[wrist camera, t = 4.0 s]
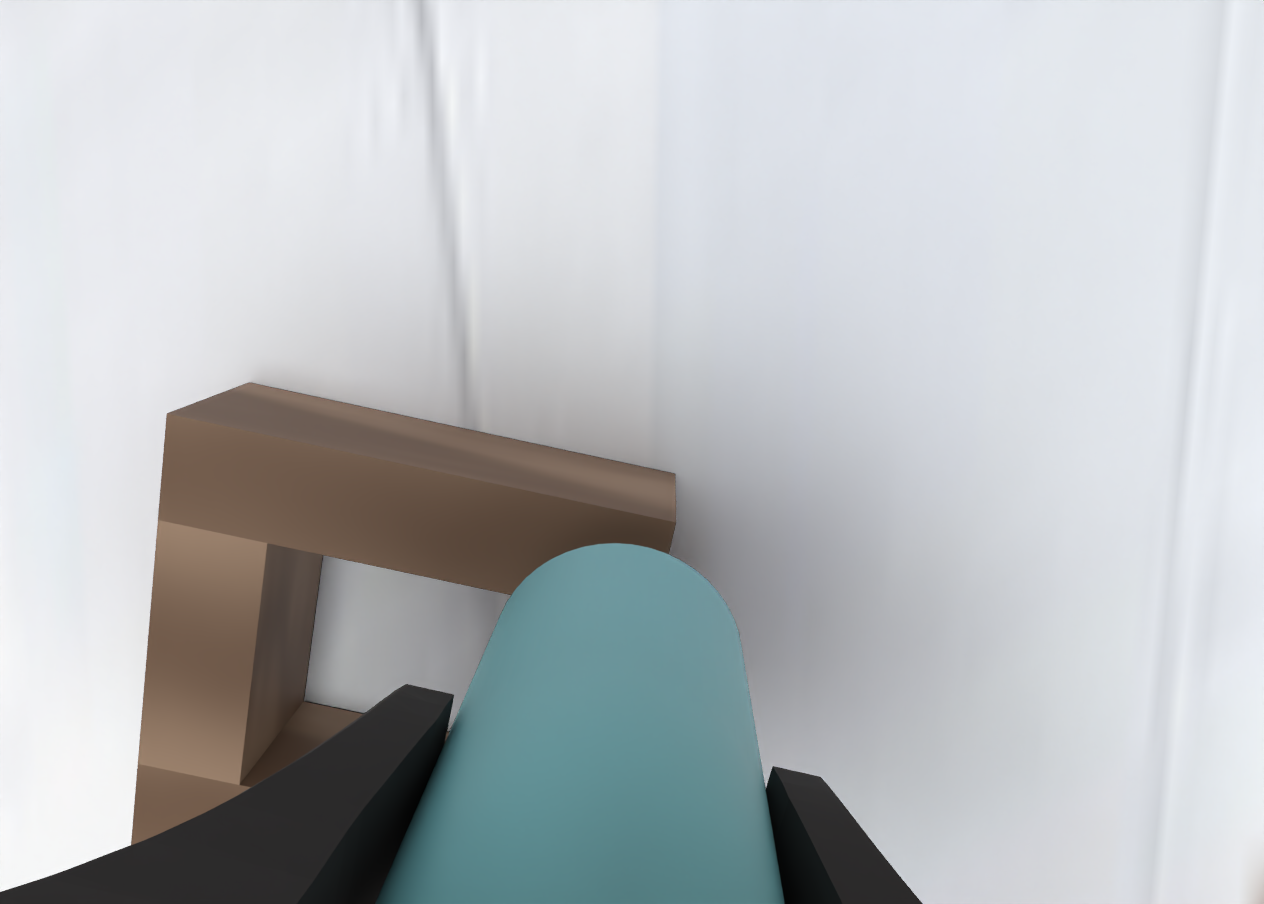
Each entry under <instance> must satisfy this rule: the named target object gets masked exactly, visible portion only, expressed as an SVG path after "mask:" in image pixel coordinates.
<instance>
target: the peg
mask: <svg viewBox="0 0 1264 904" xmlns="http://www.w3.org/2000/svg"><path fill="white" fill-rule="evenodd" d="M375 904H785V901H784V896H783V890H782V884H781V878H780V872H779V866H778V860H777V854H776V848H775V842H774V836H773V830H772V824H771V818H770V813H769V807H768V801H767V795H766V789H765V783H764V777H763V771H762V765H761V759H760V753H759V747H758V741H757V735H756V730H755V724H754V718H753V712H752V706H751V700H750V694H749V688H748V682H747V676H746V670H745V664H744V658H743V652H742V647H741V641H740V636H739V632H738V629H737V626H736V623H735V620H734V618H733V616H732V614H731V612H730V610H729V608H728V606H727V604H726V603H725V601H724V600H723V598H722V597H721V595H720V594H719V593H718V591H717V590H716V589H715V588H714V587H713V586H712V585H711V584H710V583H709V581H708V580H707V579H705V578H704V577H703V576H702V575H701V574H700V573H698V572H697V571H696V570H695V569H693V568H692V567H690V566H689V565H687V564H686V563H684V562H682V561H681V560H679V559H677V558H675V557H673V556H671V555H668V554H666V553H664V552H661V551H658V550H655V549H652V548H648V547H643V546H638V545H633V544H620V543H610V544H597V545H591V546H585V547H581V548H578V549H575V550H571V551H568V552H566V553H563V554H561V555H559V556H557V557H555V558H553V559H551V560H549V561H548V562H546V563H544V564H543V565H541V566H540V567H538V568H537V569H536V570H535V571H533V572H532V573H531V574H530V575H529V576H527V577H526V578H525V579H524V580H523V582H522V583H521V584H520V585H519V586H518V587H517V588H516V589H515V591H514V592H513V594H512V595H511V597H510V598H509V600H508V601H507V603H506V605H505V607H504V609H503V611H502V613H501V615H500V617H499V619H498V622H497V624H496V626H495V629H494V631H493V633H492V636H491V638H490V640H489V642H488V645H487V647H486V649H485V652H484V654H483V656H482V659H481V661H480V663H479V666H478V668H477V670H476V672H475V675H474V677H473V679H472V682H471V684H470V686H469V689H468V691H467V693H466V695H465V698H464V700H463V702H462V705H461V707H460V709H459V712H458V714H457V716H456V718H455V721H454V723H453V725H452V728H451V730H450V732H449V735H448V737H447V739H446V741H445V744H444V746H443V748H442V751H441V753H440V755H439V758H438V760H437V762H436V764H435V767H434V769H433V771H432V774H431V776H430V778H429V781H428V783H427V785H426V788H425V790H424V792H423V794H422V797H421V799H420V801H419V804H418V806H417V808H416V811H415V813H414V815H413V817H412V820H411V822H410V824H409V827H408V829H407V831H406V834H405V836H404V838H403V840H402V843H401V845H400V847H399V850H398V852H397V854H396V857H395V859H394V861H393V863H392V866H391V868H390V870H389V873H388V875H387V877H386V880H385V882H384V884H383V886H382V889H381V891H380V893H379V896H378V898H377V900H376V903H375Z"/></svg>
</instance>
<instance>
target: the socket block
mask: <svg viewBox="0 0 1264 904" xmlns="http://www.w3.org/2000/svg"><path fill="white" fill-rule="evenodd" d="M675 525H676V493H675V474H673V473H669V472H664V471H659V470H655V469H650V468H645V467H641V466H636V465H631V464H627V463H622V462H617V461H613V460H608V459H603V458H599V457H594V456H589V455H585V454H580V453H575V452H571V451H566V450H561V449H557V448H552V447H547V446H543V445H538V444H533V443H529V442H524V441H519V440H515V439H510V438H505V437H501V436H496V435H491V434H487V433H482V432H477V431H473V430H468V429H463V428H459V427H454V426H449V425H445V424H440V423H435V422H431V421H426V420H421V419H417V418H412V417H407V416H403V415H398V414H393V413H389V412H384V411H379V410H375V409H370V408H365V407H361V406H356V405H351V404H347V403H342V402H337V401H333V400H328V399H323V398H319V397H314V396H309V395H305V394H300V393H295V392H291V391H286V390H281V389H277V388H272V387H267V386H263V385H258V384H253V383H246V384H244V385H241V386H238V387H236V388H233V389H230V390H228V391H225V392H223V393H220V394H217V395H215V396H212V397H209V398H207V399H204V400H201V401H199V402H196V403H194V404H191V405H188V406H186V407H183V408H180V409H178V410H175V411H172V412H170V413H167V418H166V430H165V442H164V454H163V466H162V478H161V490H160V503H159V515H158V527H157V539H156V551H155V563H154V575H153V587H152V599H151V611H150V624H149V636H148V648H147V660H146V672H145V684H144V696H143V708H142V720H141V733H140V745H139V757H138V769H137V781H136V793H135V805H134V817H133V829H132V841H131V845H133V844H136V843H138V842H141V841H144V840H146V839H148V838H151V837H153V836H155V835H157V834H160V833H162V832H164V831H166V830H169V829H171V828H173V827H175V826H177V825H179V824H181V823H183V822H186V821H188V820H190V819H192V818H194V817H196V816H198V815H201V814H203V813H205V812H207V811H209V810H211V809H213V808H215V807H217V806H218V805H220V804H222V803H224V802H226V801H228V800H230V799H232V798H233V797H235V796H237V795H239V794H240V793H242V792H244V791H245V790H247V789H249V788H251V787H252V786H254V785H256V784H257V783H259V782H261V781H262V780H264V779H266V778H268V777H269V776H271V775H273V774H274V773H276V772H278V771H279V770H281V769H283V768H285V767H286V766H288V765H289V764H291V763H293V762H294V761H296V760H297V759H299V758H300V757H302V756H303V755H305V754H306V753H308V752H309V751H311V750H312V749H314V748H315V747H317V746H318V745H320V744H321V743H323V742H324V741H326V740H327V739H329V738H330V737H332V736H333V735H335V734H336V733H338V732H339V731H341V730H342V729H343V728H345V727H346V726H348V725H349V724H350V723H352V722H353V721H355V720H356V719H357V718H359V717H360V716H362V715H363V714H361V713H357V712H352V711H347V710H342V709H338V708H333V707H328V706H323V705H319V704H314V703H309V702H304V694H305V686H306V679H307V671H308V664H309V656H310V649H311V641H312V633H313V626H314V618H315V611H316V603H317V596H318V588H319V581H320V573H321V565H322V558H323V555H325V556H330V557H335V558H339V559H344V560H349V561H354V562H358V563H363V564H368V565H372V566H377V567H382V568H387V569H391V570H396V571H401V572H405V573H410V574H415V575H420V576H424V577H429V578H434V579H438V580H443V581H448V582H453V583H457V584H462V585H467V586H471V587H476V588H481V589H486V590H490V591H495V592H500V593H504V594H509V595H512V594H513V592H514V591H515V589H516V588H517V587H518V586H519V585H520V584H521V583H522V582H523V580H524V579H525V578H526V577H527V576H529V575H530V574H531V573H532V572H533V571H535V570H536V569H537V568H538V567H540V566H541V565H543V564H544V563H546V562H548V561H549V560H551V559H553V558H555V557H557V556H559V555H561V554H563V553H566V552H568V551H571V550H575V549H578V548H581V547H585V546H591V545H597V544H610V543H620V544H633V545H638V546H643V547H648V548H652V549H655V550H658V551H661V552H664V553H666V554H668V555H669V550H670V546H671V542H672V537H673V533H674V529H675ZM448 735H449V732H447V734H446V739H447V737H448ZM446 739H445V741H446Z"/></svg>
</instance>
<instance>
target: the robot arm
mask: <svg viewBox="0 0 1264 904" xmlns="http://www.w3.org/2000/svg"><path fill="white" fill-rule="evenodd" d="M453 698H454V695H453V694H448V693H444V692H439V691H435V690H430V689H426V688H421V687H417V686H412V685H408V684H406V685H404V686H402V687H401V688H399V689H397V690H395V691H394V692H393V693H391V694H390V695H389V696H387V697H386V698H385V699H383V700H382V701H381V702H379V703H378V704H376V705H375V706H374V707H372V708H371V709H370V710H368V711H367V712H366V713H364V714H363V715H362V716H360V717H359V718H357V719H356V720H355V721H353V722H352V723H350V724H349V725H348V726H346V727H345V728H343V729H342V730H341V731H339V732H338V733H336V734H335V735H333V736H332V737H330V738H329V739H327V740H326V741H324V742H323V743H321V744H320V745H318V746H317V747H315V748H314V749H312V750H311V751H309V752H308V753H306V754H305V755H303V756H302V757H300V758H299V759H297V760H296V761H294V762H293V763H291V764H289V765H288V766H286V767H285V768H283V769H281V770H279V771H278V772H276V773H274V774H273V775H271V776H269V777H268V778H266V779H264V780H262V781H261V782H259V783H257V784H256V785H254V786H252V787H251V788H249V789H247V790H245V791H244V792H242V793H240V794H239V795H237V796H235V797H233V798H232V799H230V800H228V801H226V802H224V803H222V804H220V805H218V806H217V807H215V808H213V809H211V810H209V811H207V812H205V813H203V814H201V815H198V816H196V817H194V818H192V819H190V820H188V821H186V822H183V823H181V824H179V825H177V826H175V827H173V828H171V829H169V830H166V831H164V832H162V833H160V834H157V835H155V836H153V837H151V838H148V839H146V840H144V841H141V842H138V843H136V844H133V845H131V846H128V847H125V848H123V849H120V850H118V851H115V852H112V853H110V854H107V855H105V856H102V857H99V858H97V859H94V860H92V861H89V862H86V863H84V864H81V865H78V866H76V867H73V868H71V869H68V870H66V871H63V872H60V873H57V874H55V875H52V876H49V877H46V878H43V879H40V880H37V881H33V882H30V883H27V884H24V885H21V886H18V887H15V888H12V889H9V890H5V891H2V892H0V904H375V903H376V900H377V898H378V896H379V893H380V891H381V889H382V886H383V884H384V882H385V880H386V877H387V875H388V873H389V870H390V868H391V866H392V863H393V861H394V859H395V857H396V854H397V852H398V850H399V847H400V845H401V843H402V840H403V838H404V836H405V834H406V831H407V829H408V827H409V824H410V822H411V820H412V817H413V815H414V813H415V811H416V808H417V806H418V804H419V801H420V799H421V797H422V794H423V792H424V790H425V788H426V785H427V783H428V781H429V778H430V776H431V774H432V771H433V769H434V767H435V764H436V762H437V760H438V758H439V755H440V753H441V751H442V748H443V746H444V744H445V739H446V734H447V729H448V723H449V718H450V713H451V708H452V703H453ZM766 795H767V801H768V807H769V813H770V818H771V824H772V830H773V836H774V842H775V848H776V854H777V860H778V866H779V872H780V878H781V884H782V890H783V896H784V901H785V904H922V903H921V901H920V900H919V899H918V898H917V897H916V895H915V894H914V893H913V892H912V891H911V889H910V888H909V887H908V886H907V885H906V883H905V882H904V881H903V880H902V879H901V877H900V876H899V875H898V874H897V872H896V871H895V870H894V869H893V867H892V866H891V865H890V864H889V862H888V861H887V860H886V859H885V857H884V856H883V855H882V854H881V852H880V851H879V850H878V849H877V847H876V846H875V845H874V843H873V842H872V841H871V840H870V838H869V837H868V836H867V834H866V833H865V832H864V831H863V829H862V828H861V827H860V825H859V824H858V823H857V822H856V820H855V819H854V818H853V816H852V815H851V814H850V813H849V811H848V810H847V809H846V807H845V806H844V805H843V804H842V802H841V801H840V800H839V799H838V797H837V796H836V795H835V793H834V792H833V791H832V790H831V789H830V787H829V786H828V785H827V784H826V783H825V782H824V780H823V779H822V778H821V777H818V776H814V775H809V774H805V773H800V772H796V771H791V770H787V769H783V768H778V767H774V766H773V767H772V771H771V774H770V777H769V781H768V784H767V787H766Z"/></svg>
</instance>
